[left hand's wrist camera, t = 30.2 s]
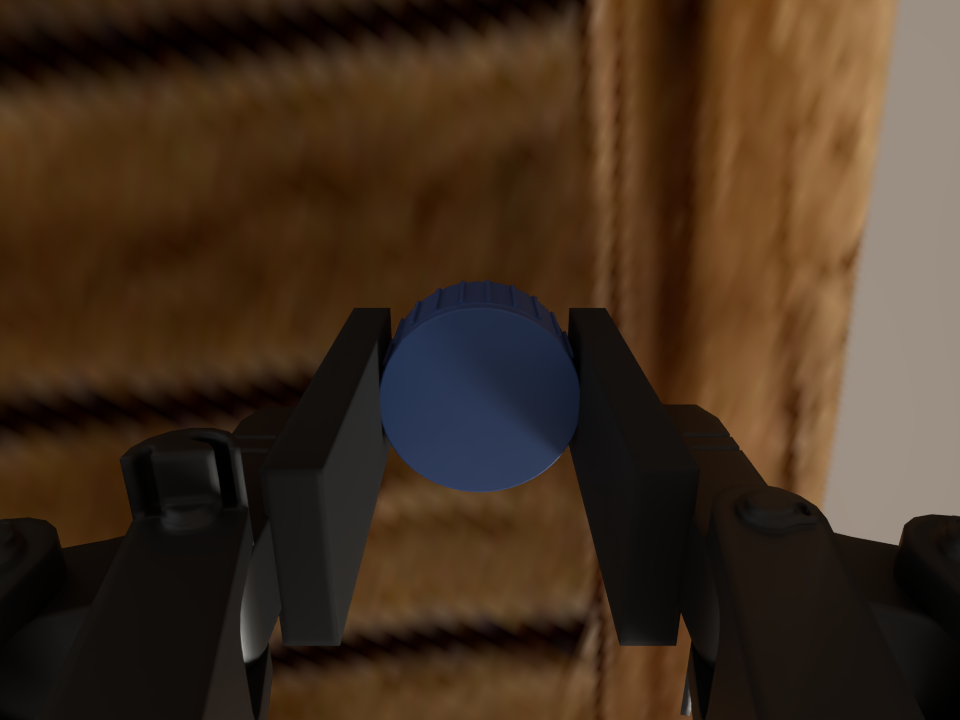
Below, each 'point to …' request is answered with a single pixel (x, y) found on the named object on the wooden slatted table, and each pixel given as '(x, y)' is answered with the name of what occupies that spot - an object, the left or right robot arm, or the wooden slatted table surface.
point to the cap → (479, 388)
